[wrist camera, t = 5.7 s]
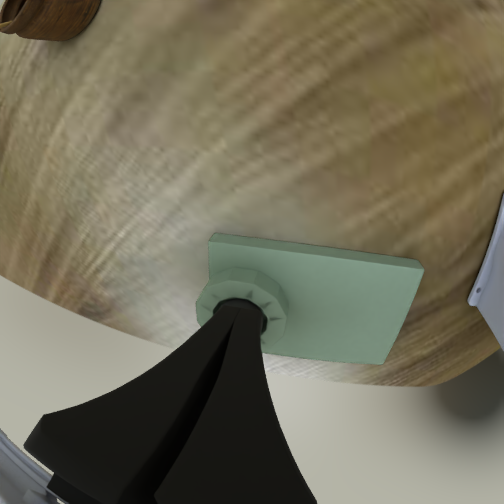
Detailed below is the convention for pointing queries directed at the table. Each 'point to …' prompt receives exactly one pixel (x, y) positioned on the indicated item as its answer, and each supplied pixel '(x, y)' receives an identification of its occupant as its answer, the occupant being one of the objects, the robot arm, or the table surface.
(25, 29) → the utensil holder
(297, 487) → the robot arm
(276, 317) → the green knob panel
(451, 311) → the table surface
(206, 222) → the table surface
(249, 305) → the black knob
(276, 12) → the table surface
